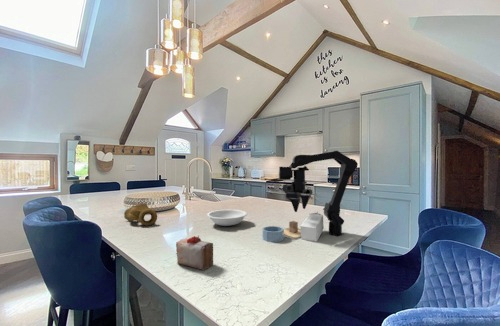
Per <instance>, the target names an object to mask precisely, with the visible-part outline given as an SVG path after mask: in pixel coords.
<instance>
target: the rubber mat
mask: <svg viewBox="0 0 500 326" xmlns="http://www.w3.org/2000/svg"><path fill="white" fill-rule="evenodd" d="M284 238H286V239H288V240H292V241H297V240H300V239H301V237H299V238H295V239H293V238H290V237H287V236H285V235H284ZM301 240H302V239H301Z"/></svg>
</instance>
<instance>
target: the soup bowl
mask: <svg viewBox="0 0 500 326" xmlns="http://www.w3.org/2000/svg"><path fill="white" fill-rule="evenodd" d="M247 215H248V212H247V211H245V210H240V209H218V210H212V211H210V212H208V213H206V216H207V218H209V219H210V220H211V221H212V223H213V224H215V225H219V226H223V227H227V226H228V227H229V226H230V227H231V226H235V225H238V224H240V223H241V222H242V221H243V220H244V219H245V217H247Z"/></svg>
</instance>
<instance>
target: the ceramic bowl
mask: <svg viewBox="0 0 500 326" xmlns="http://www.w3.org/2000/svg"><path fill="white" fill-rule="evenodd" d="M284 229H285V228H283V227H281V226H277V225H269V226H268V225H267V226H264V227H262V236H261V237H262V240H263V241H265V242H269V243H280V242H282V241H284V238H285V237H284Z"/></svg>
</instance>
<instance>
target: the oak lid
mask: <svg viewBox="0 0 500 326" xmlns="http://www.w3.org/2000/svg"><path fill="white" fill-rule="evenodd" d="M298 224H299V222H298V221H294V220H292V221H289V222H288V226H289V227H287V228H283V229H284V235H285V236H287V237H290V238H293V239H295V238H299V237H301V228H300V227H299V228H298V226H299V225H298Z"/></svg>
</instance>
